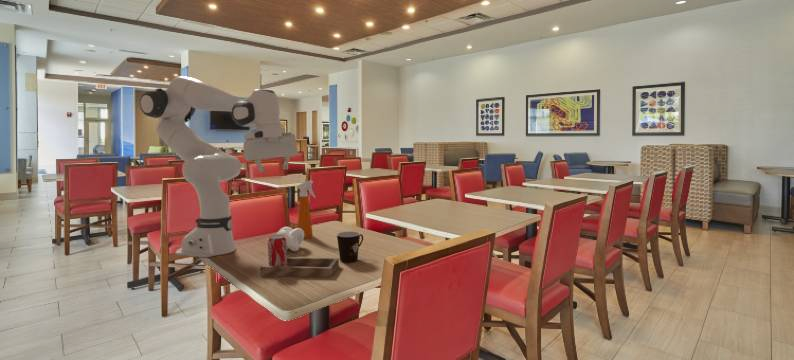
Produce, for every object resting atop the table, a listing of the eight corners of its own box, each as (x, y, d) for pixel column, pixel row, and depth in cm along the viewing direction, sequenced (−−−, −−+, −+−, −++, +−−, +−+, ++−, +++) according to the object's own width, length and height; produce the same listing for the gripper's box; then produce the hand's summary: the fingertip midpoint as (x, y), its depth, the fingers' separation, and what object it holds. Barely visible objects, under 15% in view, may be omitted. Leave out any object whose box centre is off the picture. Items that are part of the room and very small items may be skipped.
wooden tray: (260, 275, 140) (260, 266, 140) (273, 265, 151) (272, 256, 151) (331, 277, 138) (330, 268, 138) (338, 266, 149) (338, 258, 149)
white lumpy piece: (267, 252, 168) (266, 230, 167) (284, 245, 179) (283, 224, 178) (292, 254, 164) (291, 232, 163) (307, 247, 176) (307, 226, 175)
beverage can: (282, 273, 142) (281, 239, 140) (265, 272, 143) (264, 238, 142) (290, 268, 148) (289, 234, 146) (274, 267, 149) (273, 234, 148)
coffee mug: (342, 265, 151) (341, 238, 150) (334, 258, 158) (333, 233, 157) (371, 260, 156) (371, 234, 155) (362, 254, 164) (362, 229, 163)
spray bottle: (311, 240, 186) (309, 181, 184) (293, 237, 192) (291, 180, 189) (322, 237, 192) (320, 180, 189) (304, 234, 198) (303, 178, 195)
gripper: (290, 132, 164) (294, 167, 165) (239, 135, 149) (244, 173, 151) (298, 131, 159) (302, 167, 160) (247, 133, 145) (251, 173, 146)
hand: (273, 170), depth 155 cm, fingers open, 8 cm apart
